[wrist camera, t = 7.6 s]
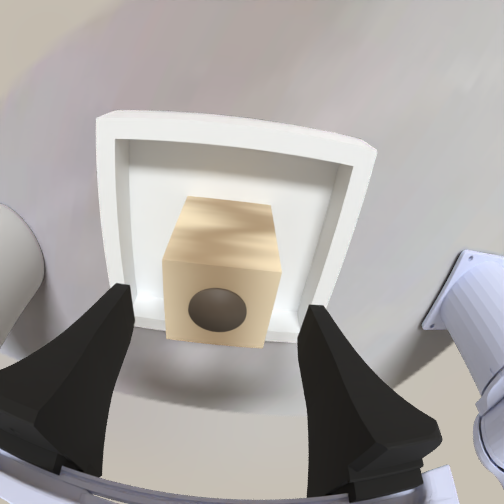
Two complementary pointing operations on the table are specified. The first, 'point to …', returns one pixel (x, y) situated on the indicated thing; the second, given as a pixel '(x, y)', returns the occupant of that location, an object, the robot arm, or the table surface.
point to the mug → (17, 268)
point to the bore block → (221, 273)
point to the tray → (228, 198)
